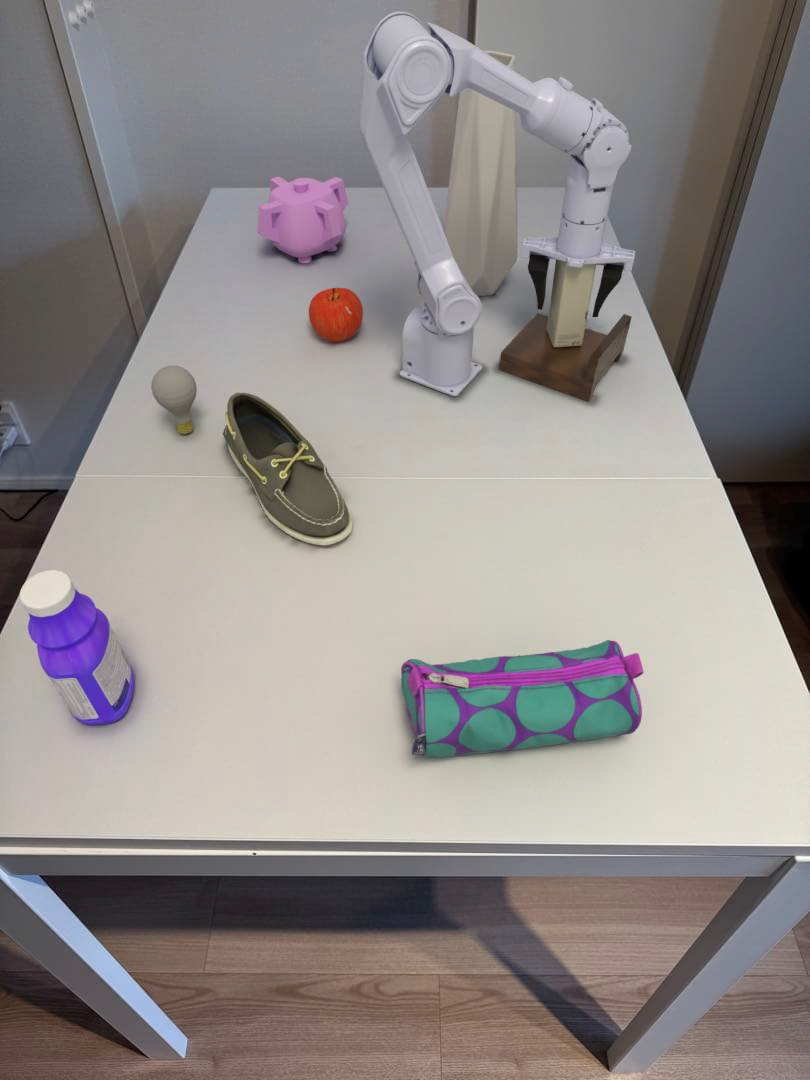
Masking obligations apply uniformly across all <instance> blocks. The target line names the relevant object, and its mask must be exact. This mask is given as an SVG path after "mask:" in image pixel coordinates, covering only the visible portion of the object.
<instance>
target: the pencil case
mask: <svg viewBox="0 0 810 1080" xmlns="http://www.w3.org/2000/svg"><path fill="white" fill-rule="evenodd" d="M400 672H401V677H400V679H401V690H402V695H403V700H404V702H405V708H406V712H407V716H408V719H409V721H410V725H411V726H412V729H413V730H414V732H415V735H416V738H415V739H414V741H413V744H412V749H411V750H412V751H411V755H412V756H421V755H423V756H424V757H425V758H427V757H434V758H446V757H455V756H460V755H461V756H463V755H464V756H465V755H473V754H484V753H493V752H499V751H508V750H520V749H526V748H527V749H529V748H532V749H533V748H539V747H544V746H551V745H560V744H567V743H575V742H579V741H587V740H596V739H597V740H598V739H601V738H605V737H620V736H625V735H626V736H627V735H631V734H633V733H635V732H636V731H637V730H638V729H639V727H640V725H641V722H642V718H643V707H642V706H643V705H642V699H641V695H640V692H639V689H638V687H637V685H636V683H635V679H637V678H638V677H641V676H642V675H644V673H645V672H644V668H643V663H642V661H641V656H640V654H639V652H635V653H631V654H628V655H624V653H623V650H622V647H621V644H620V643H619V642H618V641H616V640H610V639H607V640H604V641H602V642H600V643H598V644H593V645H590V646H588V647H580V648H576V649H567V650H561V651H549V652H543V653H533V654H525V655H512V656H511V655H508V656H507V655H505V656H504V655H503V656H501V655H500V656H493V657H486V658H481V659H469V660H466V661H457V662H450V663H439V664H438V663H437V664H430V663H427V662H425V661H423V660H421V659H418V658H409V659H407V660H406V661H404V662H403V663H402V665H401V668H400Z"/></svg>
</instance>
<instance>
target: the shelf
mask: <svg viewBox="0 0 810 1080" xmlns="http://www.w3.org/2000/svg"><path fill="white" fill-rule="evenodd" d="M632 317H633V316H631V315H629V314H625V313H623V314H622V316H621V317H620V318H619V319H618V320H617V322H616V323H615V325H614V326H613V327H612V328H611V329H610V331H609V332H608V333H607V334H605V333H602V332H598V331H596V330H593V329H589V328H586V327H585V332H584V338H583V343H582V345H581V346H569V347H553V345H552V343H551V340H550V338H549V335H548V332H547V323H548V315H546V314H543V313H539V312H536V314H535V315H534V316H533V317H532V318H531V319H530V321H529V322H528V323H527V324H525V326H524V327H523V328H522V329H521V330H520V331H519V332H518V333H517V335H515V337H514V338H513V339H512V340H511V341H510V342H509V343H508V344H507V345H506V346H505V347H504V348H503V349H502V350H501V352H500V355H499V357H500V358H499V369H498V370H499V371H501V372H504V373H507V374H509V375H512V376H515V377H518V378H520V379H523V380H526V381H529V382H532V383H534V384H538V385H540V386H542V387H543V386H544V387H546V388H549V389H551V390H554V391H557V392H560V393H563V394H566V395H569V396H571V397H574V398H577V399H580V400H583V401H585V402H587V403H589V402H590V401H591V400H592V399H593V396H594V392H595V387H596V385H597V384H598V383H599V382H600V380H601V378H602V377H603V376H604V374H605V373H606V372H607V370H608V369H610V366H611V365H612V364H613V363H614V362H617V363H619V362H620V361H621V360H622V358H623V354H624V350H625V346H626V341H627V337H628V333H629V330H630V325H631V323H632Z"/></svg>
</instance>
